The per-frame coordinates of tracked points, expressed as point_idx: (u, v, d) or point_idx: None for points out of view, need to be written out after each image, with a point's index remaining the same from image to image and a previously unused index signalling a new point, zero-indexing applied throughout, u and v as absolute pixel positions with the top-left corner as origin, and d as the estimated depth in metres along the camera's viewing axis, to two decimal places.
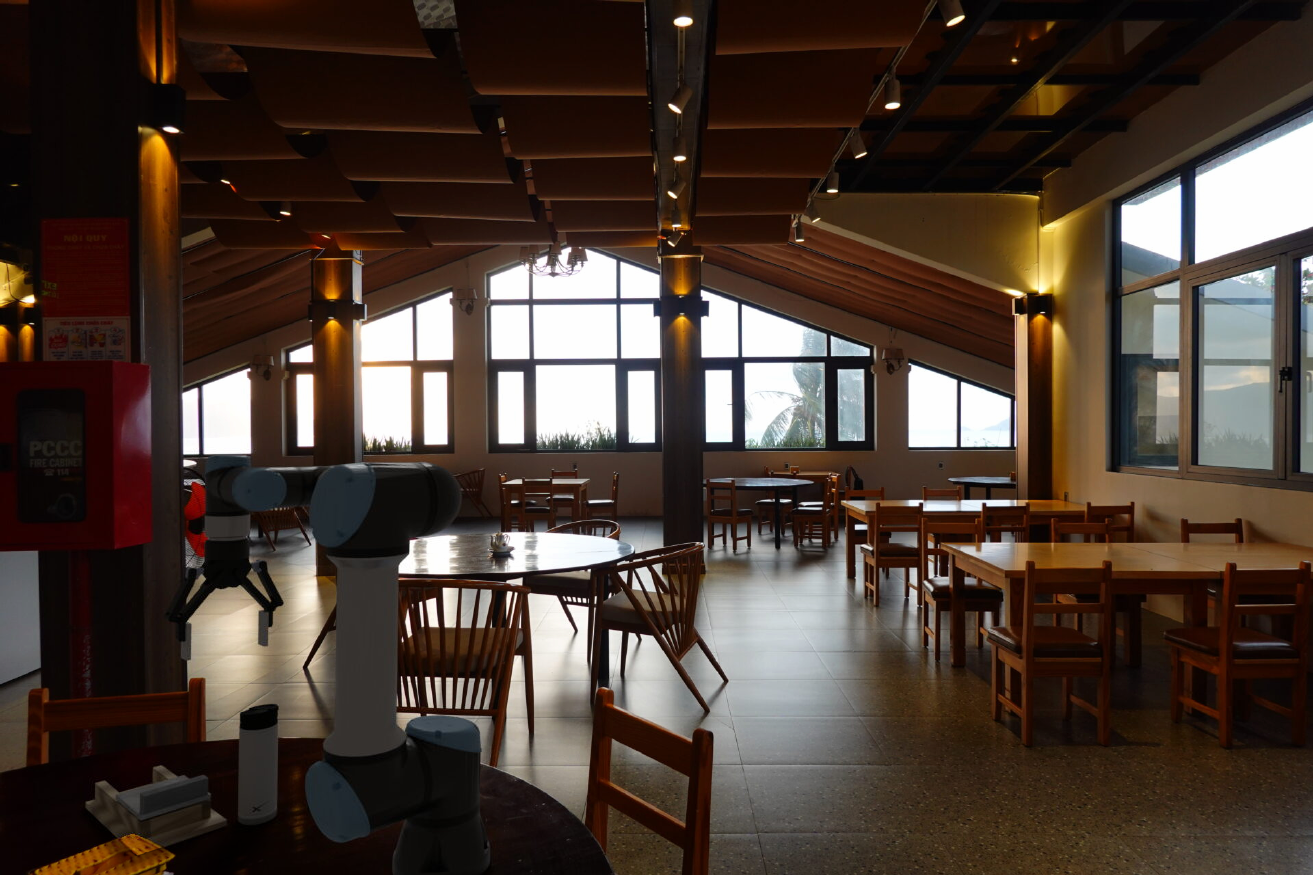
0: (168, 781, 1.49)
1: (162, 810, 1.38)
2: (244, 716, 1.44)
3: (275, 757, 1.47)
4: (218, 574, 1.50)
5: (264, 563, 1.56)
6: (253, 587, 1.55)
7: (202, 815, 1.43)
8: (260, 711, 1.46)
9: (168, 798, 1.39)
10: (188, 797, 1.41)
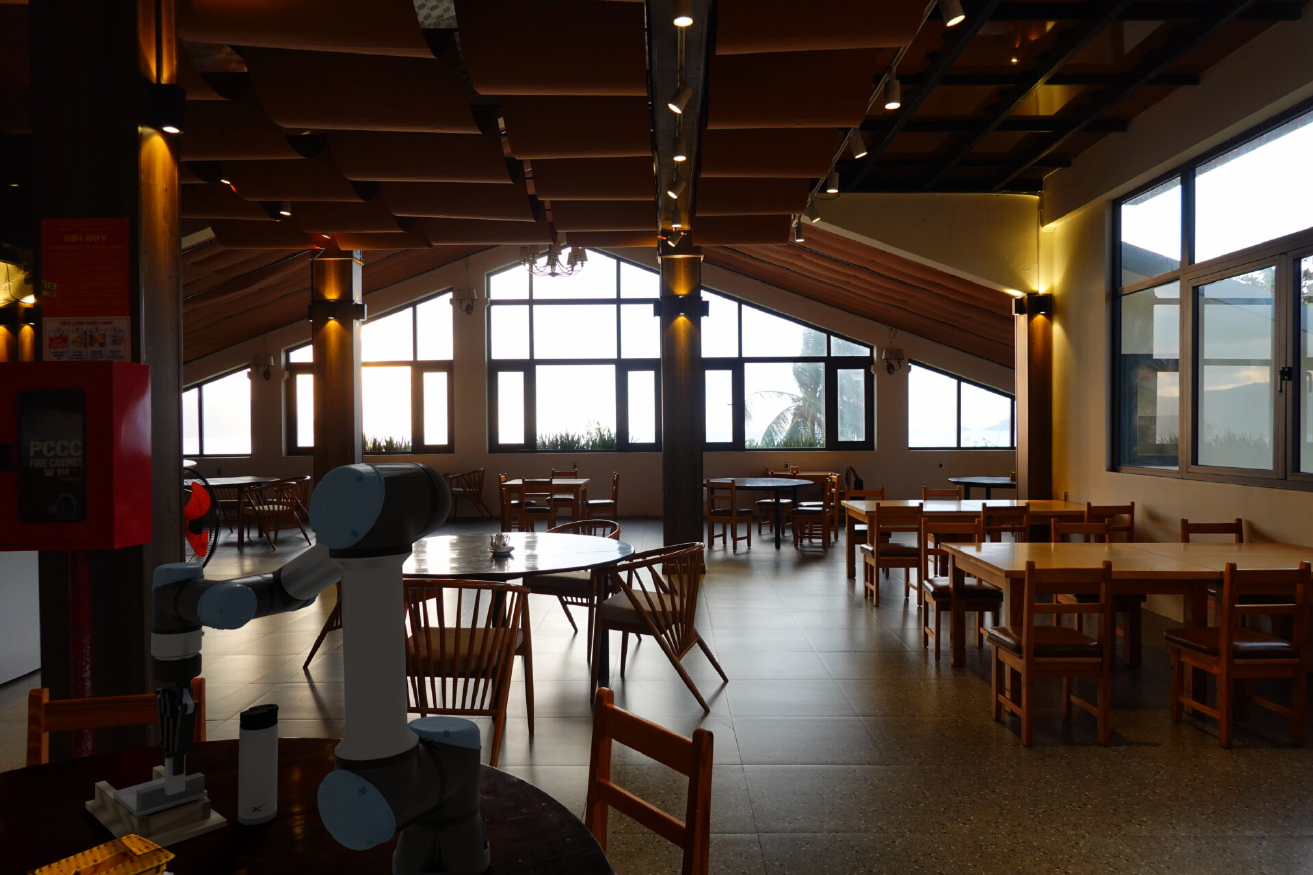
0: (164, 779, 1.50)
1: (159, 807, 1.39)
2: (244, 716, 1.44)
3: (275, 757, 1.47)
4: None
5: (181, 707, 1.36)
6: (171, 721, 1.39)
7: (202, 815, 1.43)
8: (260, 711, 1.46)
9: (164, 795, 1.40)
10: (184, 794, 1.42)
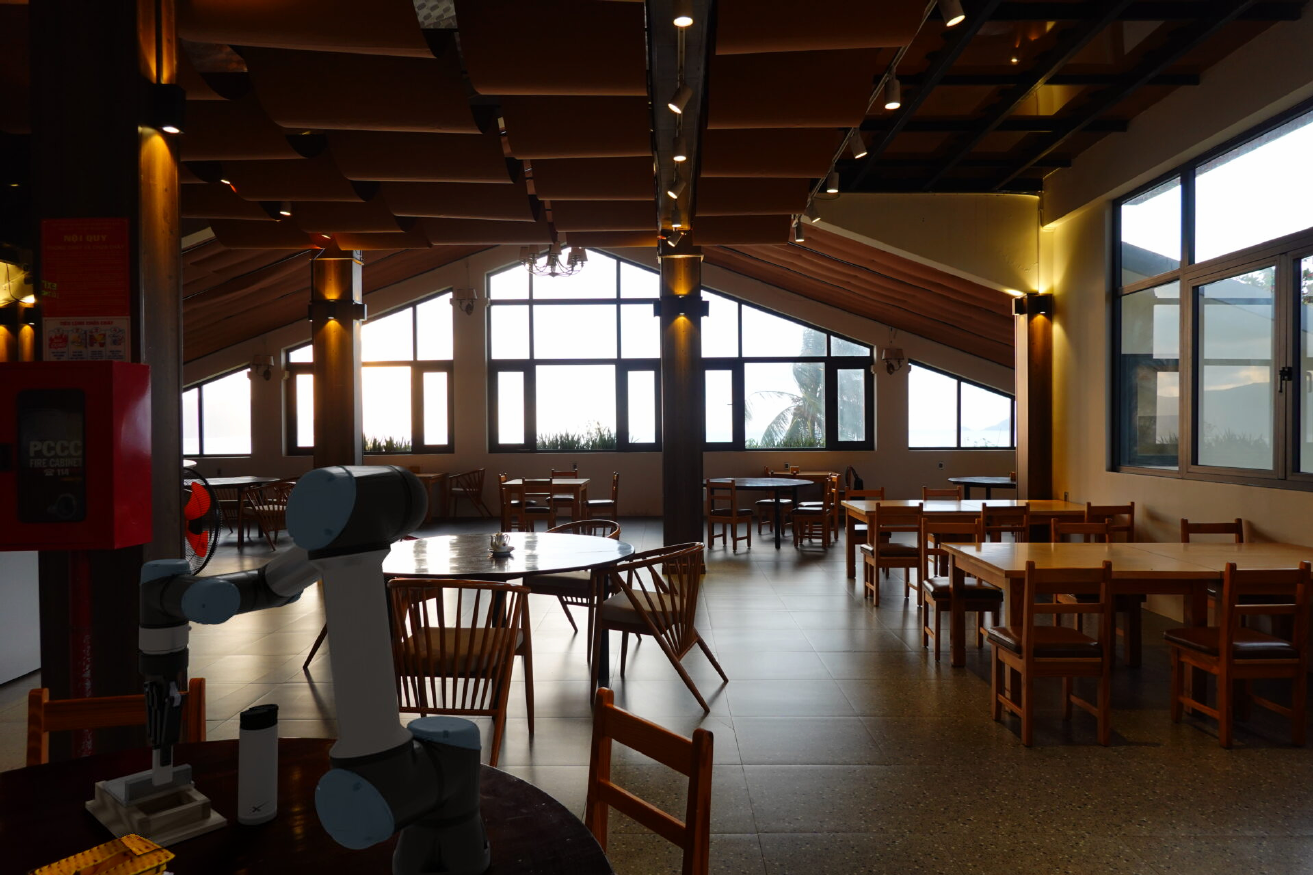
0: None
1: (146, 797, 1.43)
2: (244, 716, 1.44)
3: (275, 757, 1.47)
4: None
5: (168, 700, 1.39)
6: (159, 713, 1.42)
7: (202, 815, 1.43)
8: (260, 711, 1.46)
9: (152, 786, 1.44)
10: (172, 785, 1.46)
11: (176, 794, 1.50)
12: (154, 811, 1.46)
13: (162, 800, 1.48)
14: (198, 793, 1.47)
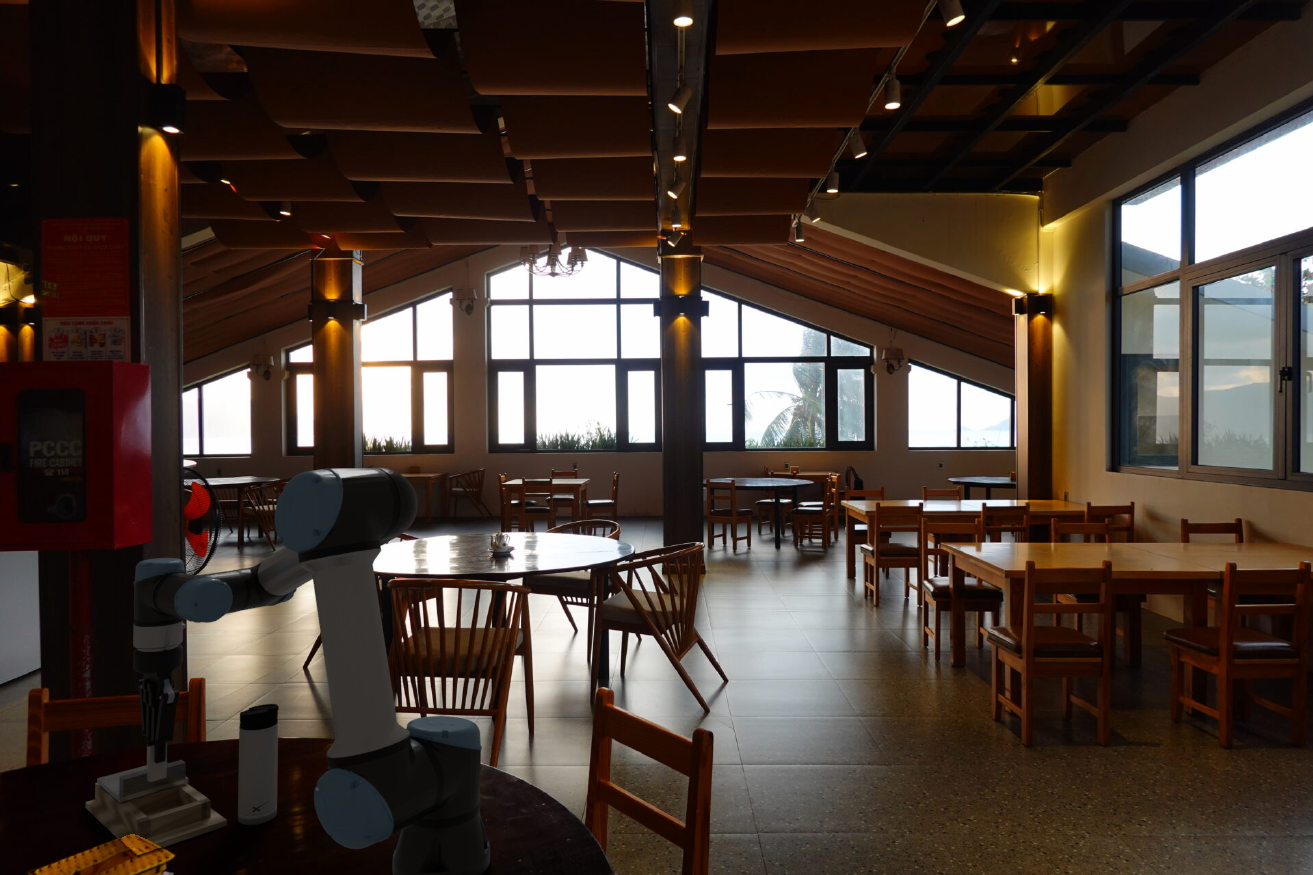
0: None
1: (141, 793, 1.45)
2: (244, 716, 1.44)
3: (275, 757, 1.47)
4: None
5: (162, 697, 1.41)
6: (153, 710, 1.44)
7: (202, 815, 1.43)
8: (260, 711, 1.46)
9: (146, 781, 1.45)
10: (166, 781, 1.48)
11: (176, 794, 1.50)
12: (154, 811, 1.46)
13: (162, 800, 1.48)
14: (198, 793, 1.47)
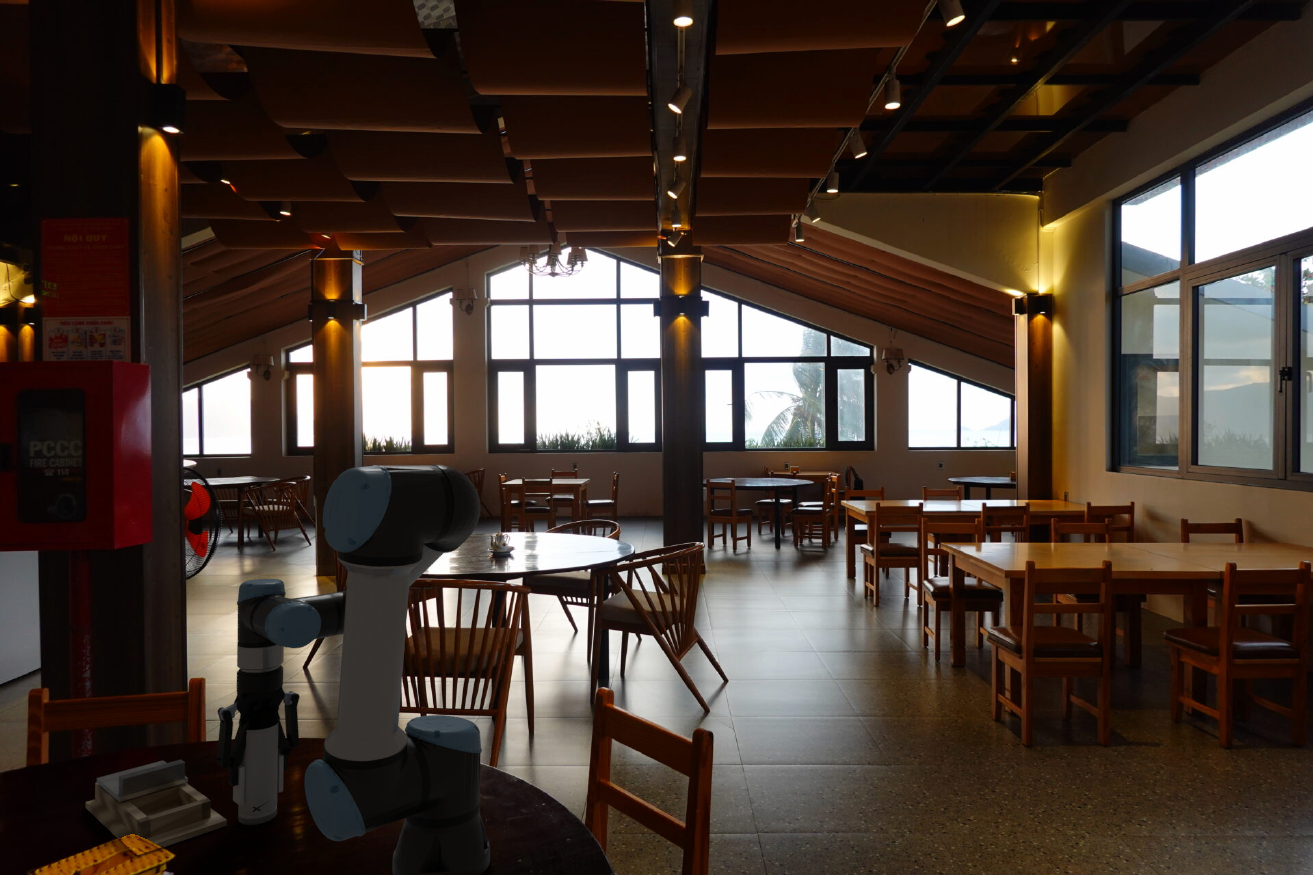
0: (147, 766, 1.55)
1: (140, 792, 1.45)
2: (244, 716, 1.44)
3: (275, 757, 1.47)
4: (252, 708, 1.44)
5: (297, 696, 1.51)
6: (278, 723, 1.48)
7: (202, 815, 1.43)
8: None
9: (146, 781, 1.46)
10: (165, 780, 1.48)
11: (176, 794, 1.50)
12: (154, 811, 1.46)
13: (162, 800, 1.48)
14: (198, 793, 1.47)
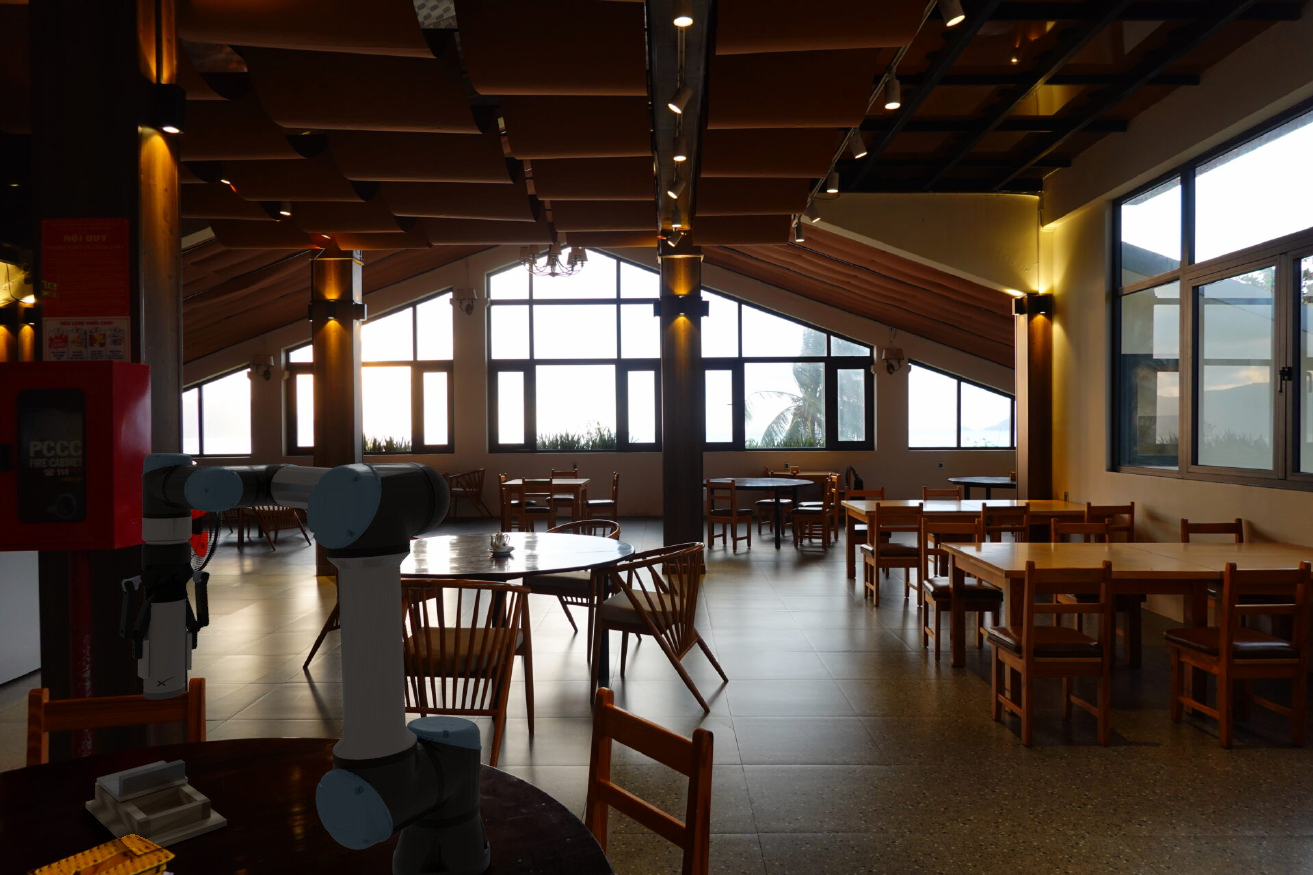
0: (147, 766, 1.55)
1: (140, 792, 1.45)
2: (149, 589, 1.41)
3: (182, 633, 1.44)
4: (157, 581, 1.41)
5: (207, 575, 1.48)
6: (186, 599, 1.45)
7: (202, 815, 1.43)
8: None
9: (146, 781, 1.46)
10: (165, 780, 1.48)
11: (176, 794, 1.50)
12: (154, 811, 1.46)
13: (162, 800, 1.48)
14: (198, 793, 1.47)
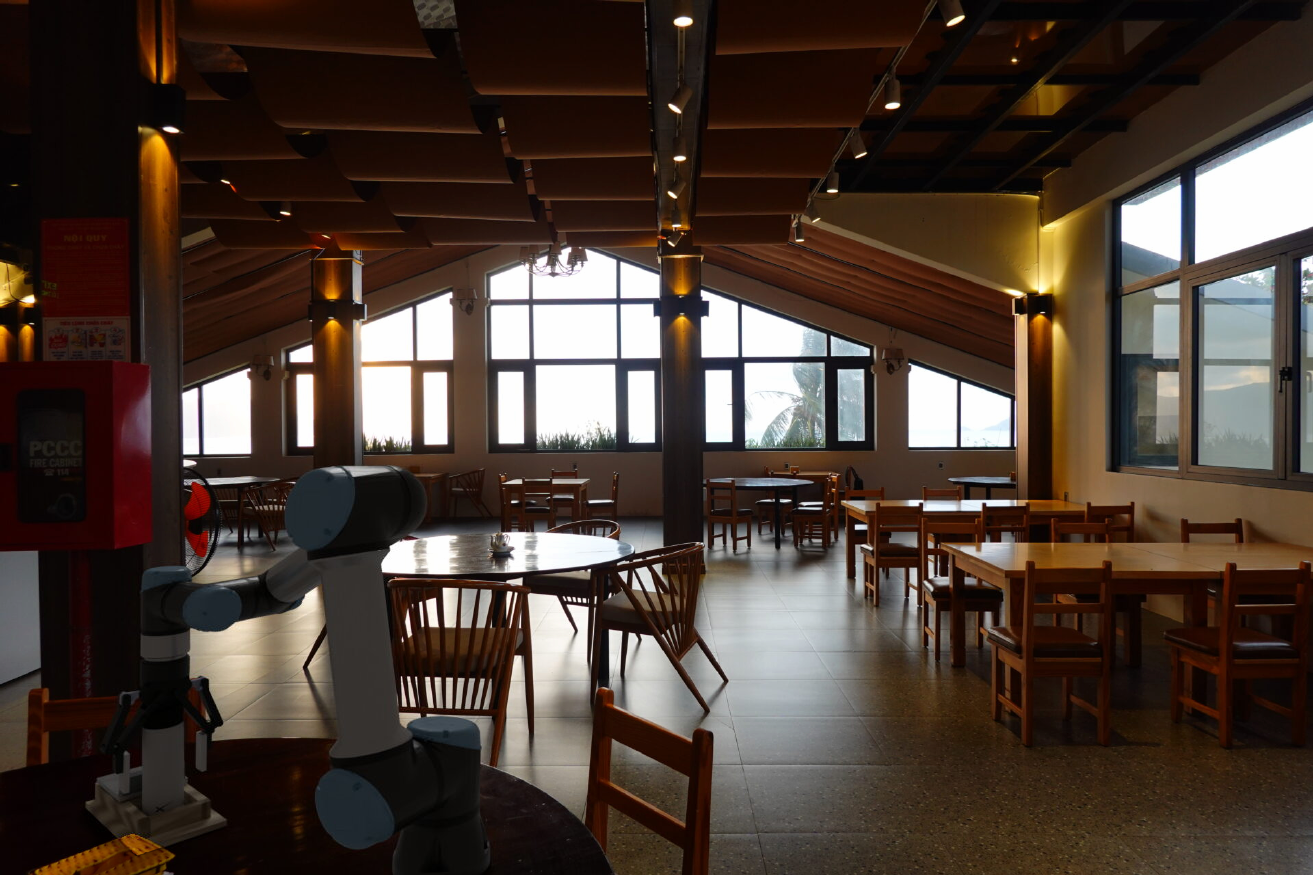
0: None
1: (140, 792, 1.45)
2: None
3: (180, 756, 1.44)
4: (155, 696, 1.41)
5: (206, 681, 1.48)
6: (192, 707, 1.46)
7: (202, 815, 1.43)
8: (164, 710, 1.43)
9: None
10: None
11: None
12: None
13: None
14: (198, 793, 1.47)
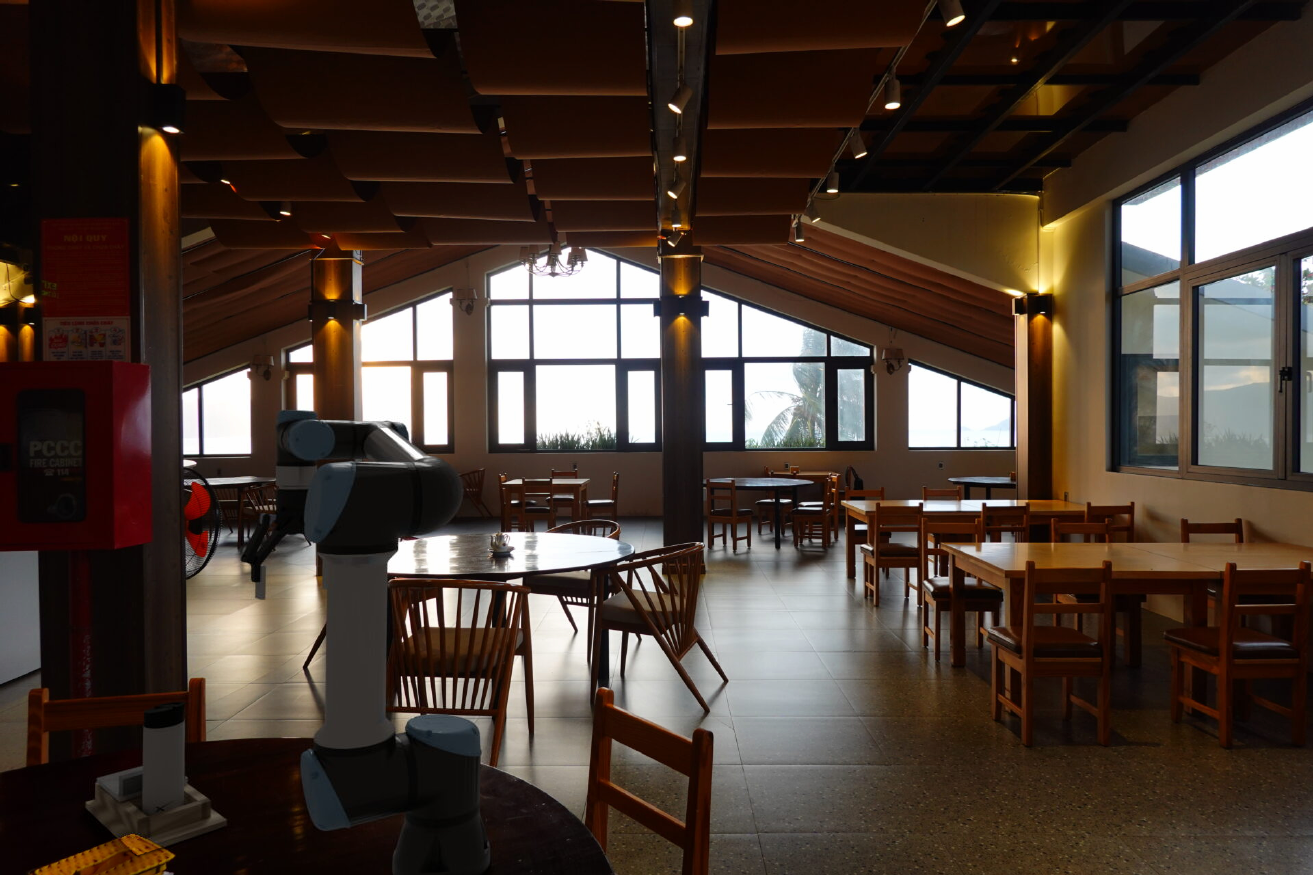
0: None
1: (140, 792, 1.45)
2: (147, 714, 1.41)
3: (181, 756, 1.44)
4: (289, 520, 1.61)
5: None
6: None
7: (202, 815, 1.43)
8: (165, 709, 1.44)
9: None
10: None
11: None
12: None
13: None
14: (198, 793, 1.47)
